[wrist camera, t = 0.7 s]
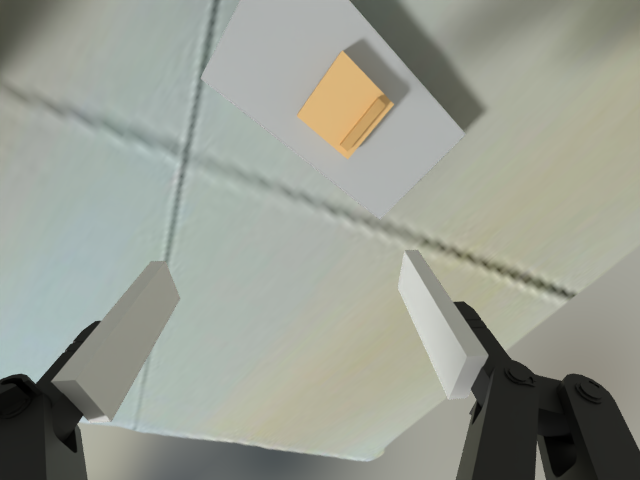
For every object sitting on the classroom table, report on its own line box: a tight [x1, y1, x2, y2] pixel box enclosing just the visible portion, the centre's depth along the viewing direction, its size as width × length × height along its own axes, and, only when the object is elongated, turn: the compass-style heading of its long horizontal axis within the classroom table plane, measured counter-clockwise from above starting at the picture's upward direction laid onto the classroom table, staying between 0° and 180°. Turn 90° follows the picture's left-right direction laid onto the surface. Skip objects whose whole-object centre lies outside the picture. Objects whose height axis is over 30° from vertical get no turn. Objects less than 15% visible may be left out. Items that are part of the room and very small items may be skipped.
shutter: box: [297, 50, 394, 159], centre depth 27 cm, size 7×7×3 cm
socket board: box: [201, 0, 466, 220], centre depth 30 cm, size 26×14×4 cm, turn 51°
